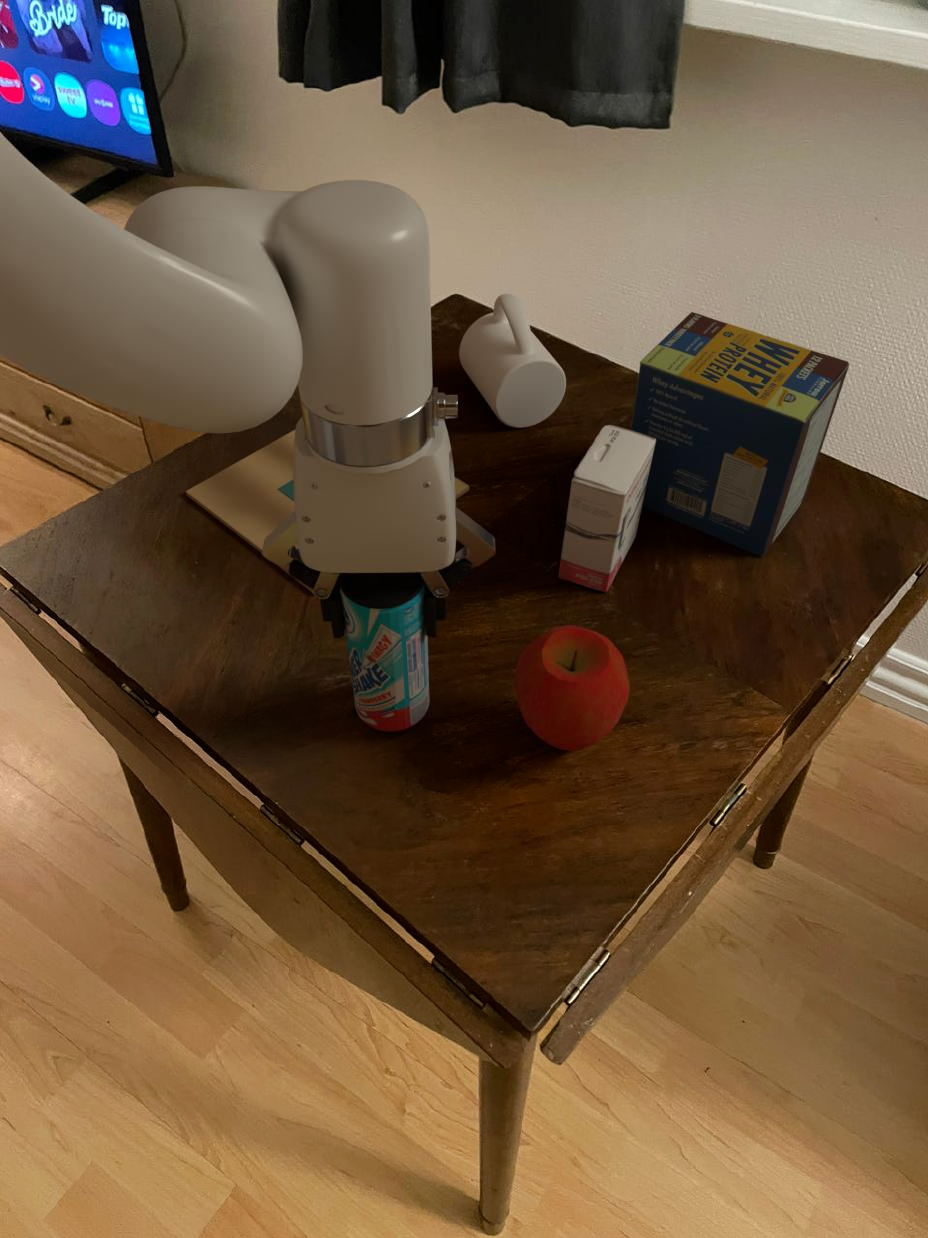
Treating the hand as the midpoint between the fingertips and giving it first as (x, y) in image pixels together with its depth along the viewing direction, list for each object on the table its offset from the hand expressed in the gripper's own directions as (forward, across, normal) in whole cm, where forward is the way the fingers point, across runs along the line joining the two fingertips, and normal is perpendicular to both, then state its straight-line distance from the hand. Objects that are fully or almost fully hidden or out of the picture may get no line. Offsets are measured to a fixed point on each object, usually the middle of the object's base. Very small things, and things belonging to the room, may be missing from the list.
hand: (385, 621), depth 67 cm
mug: (+10, -12, -42) cm, 45 cm away
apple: (+11, -14, +3) cm, 18 cm away
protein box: (+10, -31, -25) cm, 41 cm away
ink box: (+10, -19, -17) cm, 27 cm away
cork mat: (+11, +7, -27) cm, 30 cm away
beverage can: (+10, 0, 0) cm, 10 cm away
